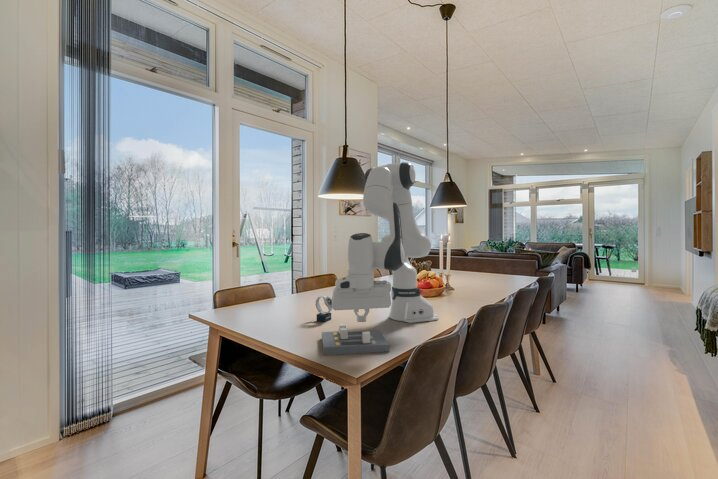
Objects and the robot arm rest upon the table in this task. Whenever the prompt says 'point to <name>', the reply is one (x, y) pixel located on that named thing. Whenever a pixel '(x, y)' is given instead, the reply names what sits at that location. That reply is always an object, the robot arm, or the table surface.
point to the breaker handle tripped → (365, 337)
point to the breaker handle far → (341, 326)
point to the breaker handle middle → (343, 333)
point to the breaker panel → (353, 343)
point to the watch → (322, 315)
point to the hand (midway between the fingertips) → (361, 321)
